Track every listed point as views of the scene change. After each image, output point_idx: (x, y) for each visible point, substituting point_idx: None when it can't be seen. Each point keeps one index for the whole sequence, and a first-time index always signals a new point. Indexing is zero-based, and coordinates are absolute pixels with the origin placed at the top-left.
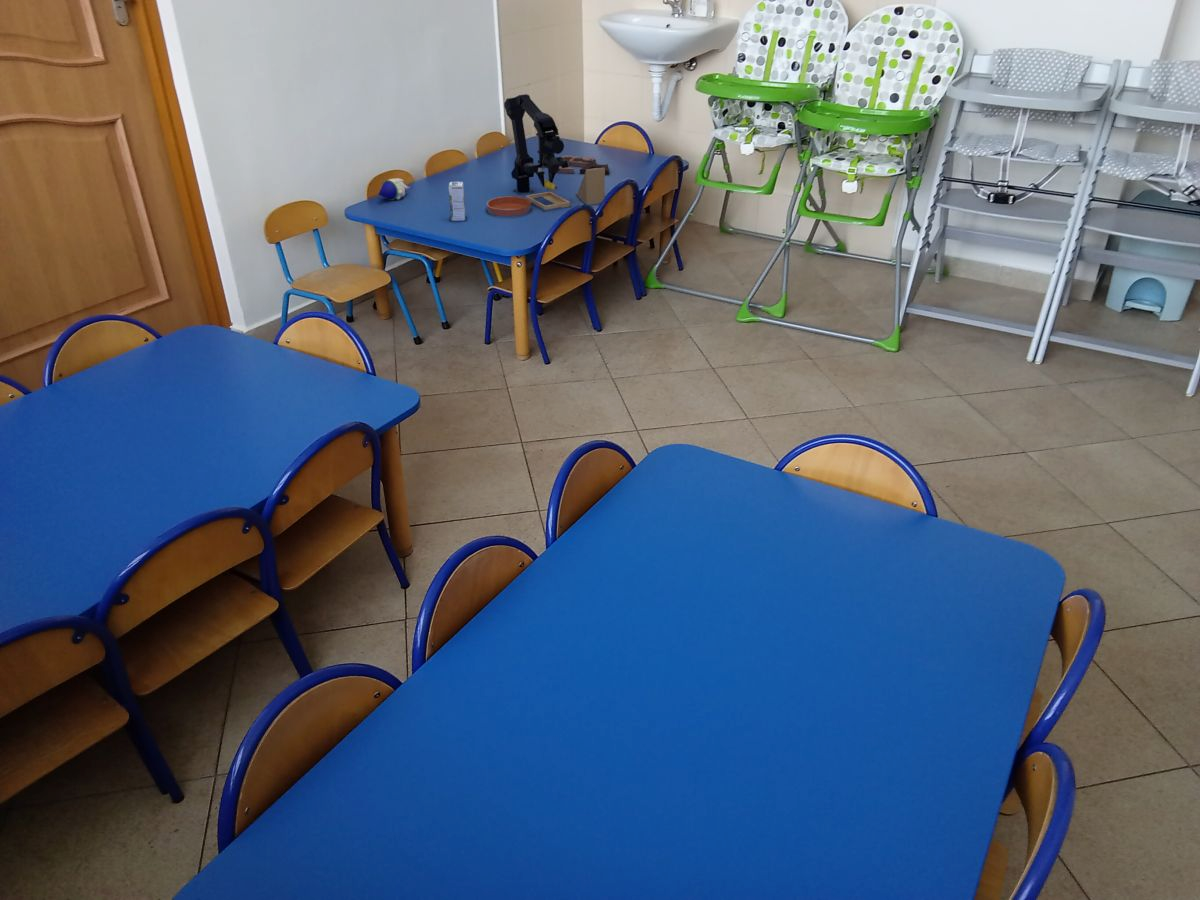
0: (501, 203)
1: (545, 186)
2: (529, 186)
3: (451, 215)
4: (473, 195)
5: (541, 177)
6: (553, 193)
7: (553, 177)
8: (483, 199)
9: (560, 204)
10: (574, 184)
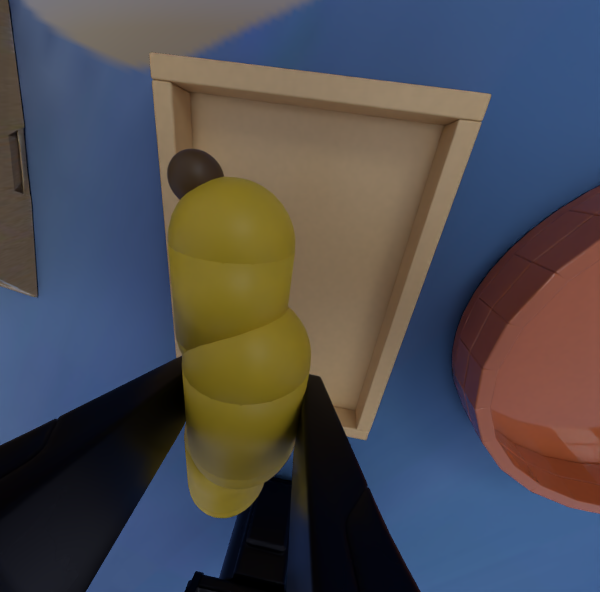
0: (551, 457)
1: (310, 351)
2: (254, 510)
3: None
4: (490, 585)
5: (404, 579)
6: None
7: (53, 431)
8: (514, 543)
9: (274, 68)
10: (13, 421)
